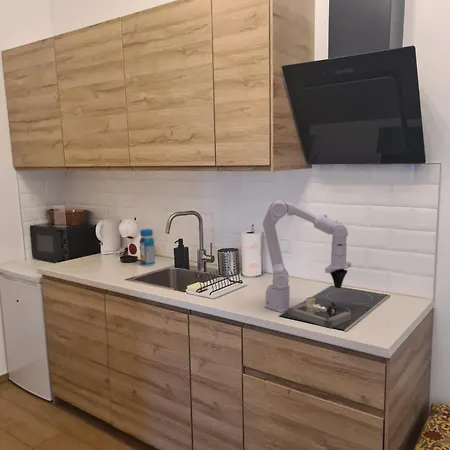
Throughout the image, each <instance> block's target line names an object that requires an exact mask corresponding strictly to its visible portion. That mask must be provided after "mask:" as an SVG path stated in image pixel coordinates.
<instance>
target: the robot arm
mask: <svg viewBox="0 0 450 450" xmlns="http://www.w3.org/2000/svg"><path fill="white" fill-rule="evenodd" d="M286 215H287V217H289V216H290V217H291V216H297V217H299V218H301V219H303V220H306V221H307V222H310V223H312V225H313V227H314V228H315V229H317V230H319V231H321V232H323V233H325V234H327V235H332V238H331V239H332V240H331V241H332V242H331V253H330V254H331V255H330V258H331V259H330V261H331V262H330V264H329V265H328V266H326V267H324V269H325V270H324V272H325V274H330V276H331V278H332V280H333V284H334V288H337V289H341V288H342V286H343V282H344V279H345V276H346V275H347V273H348V270H347V269H349V268H352V262H351V261H347V246H348V245H347V237H348V236H349V232H348V229H347V227H346V226H345V225H344V224H343V223H342V222H339V221H338V220H333V219H331V218H329V217H328V214H318V215H316V214H315V213H311V212H310V211H308V210H306V209H304V208H302V207H301V206H298V205H297V204H294V203H292V202H290V201H285V200H284V199H281V198H277V199H275V200H273V202H272V203H271V204H270V205H269V207H268V209H267V212H266V215H265V216H264V219H263V221H262V227H263V231H264V235H265V241H266V244H267V249H268V253H269V259H270V262H271V267H272V284H269V285H268V286H267V288H266V291H265V305H264V307H265V308H266V309H270V310H272V311H277V312H278V313H283V312H286V311H287V312H288V308H290V307H293V306H292V305H290V296H291V295H290V293H291V292H290V290H291V288H290V286H291V285H289V281H290V280H289V271H287V270H286V268H285V263H284V261H283V257H282V251H281V248H280V243H279V238H278V233H277V229H276V224H277V223H278V222H279V220H280V219H282V218H283V217H285V216H286Z"/></svg>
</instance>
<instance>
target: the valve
mask: <svg viewBox="0 0 450 450" xmlns="http://www.w3.org/2000/svg"><path fill="white" fill-rule="evenodd" d="M305 302H306V304H305V308H306V312H308V313H311V314H314V315H316V313H320V312H323V313H327V315H328V317H327V319H328V318H330V317H333V316H336V315H338V314H337V312H338V310H339V309H338V307H337V306H338V304H337V303H335V302H331V304H330V306H328V307H325V306H321V304H319V303H317V304H316V298H315V297H313V296H308V297H306V299H305Z"/></svg>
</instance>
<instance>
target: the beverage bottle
mask: <svg viewBox="0 0 450 450" xmlns="http://www.w3.org/2000/svg"><path fill="white" fill-rule="evenodd" d="M153 231H154V230H152V229H149V228H145V229H141V230H140V239H139V258H140V266H143V267H151V266H154V265H155V264H156V261H155V260H156V259H155V256H156V255H155V240H154V238H153Z"/></svg>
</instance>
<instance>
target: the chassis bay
mask: <svg viewBox="0 0 450 450" xmlns="http://www.w3.org/2000/svg"><path fill="white" fill-rule="evenodd" d="M305 304H306V301H305V302H302V303H300V304H296V305H294V306H293V307H290V308H288V310H287V315H288V316H291V317H294V318H297V319H300V320H303V321H305V322H306V321H307V322H309V323H313V324H316V325H318V326H322V327H324V328H328V329H333V328H334V327H336V326H339V325H341V324H344V323H347V322H349V321H350V320H351V319H352V313H350V312H348V311H344V312H340V313H338V314H337V315H336V316H333V317H330V316H329V317H330V318H328V317H324V316H321V315H318V314H315V315H314V314H311V313H308V312H306V308H305Z"/></svg>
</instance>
